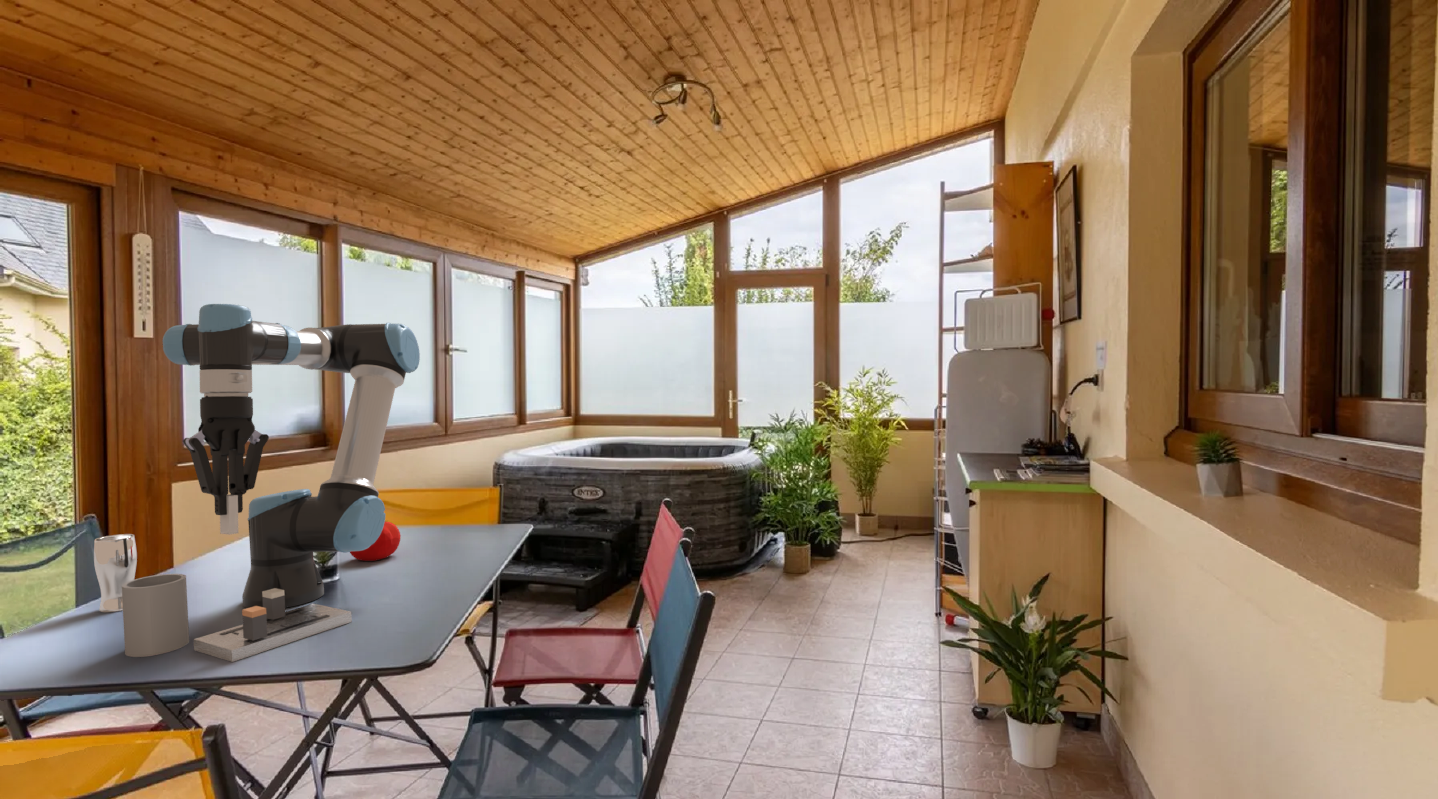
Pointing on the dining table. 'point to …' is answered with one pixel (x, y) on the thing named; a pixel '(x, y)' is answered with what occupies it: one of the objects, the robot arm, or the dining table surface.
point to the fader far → (274, 603)
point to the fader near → (254, 623)
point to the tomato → (381, 544)
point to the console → (273, 632)
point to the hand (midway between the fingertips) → (229, 533)
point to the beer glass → (114, 568)
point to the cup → (155, 614)
